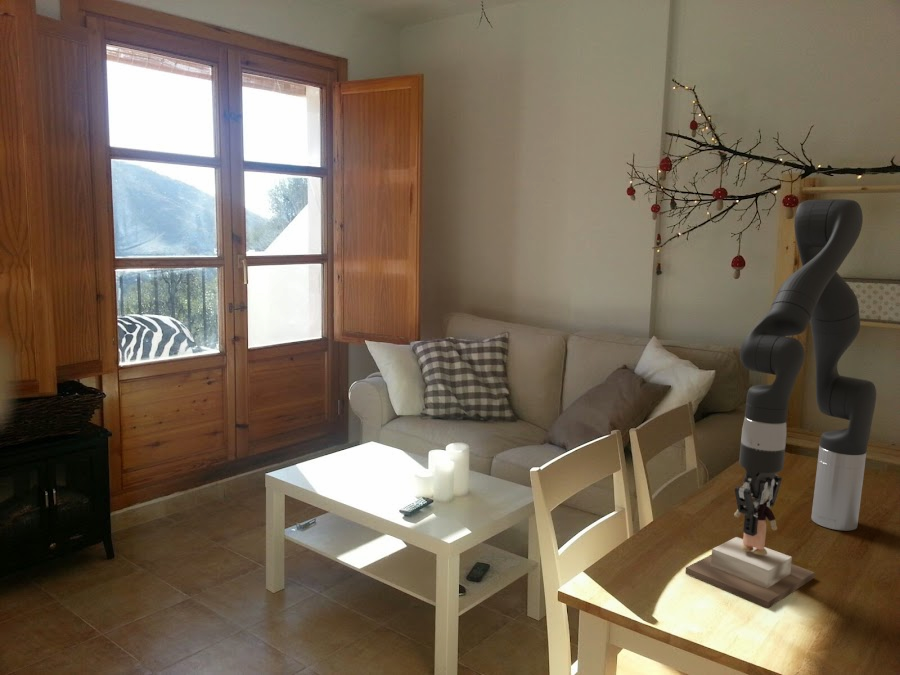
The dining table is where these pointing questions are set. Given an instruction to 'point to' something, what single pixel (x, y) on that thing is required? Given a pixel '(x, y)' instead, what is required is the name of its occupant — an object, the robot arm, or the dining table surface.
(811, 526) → the dining table surface
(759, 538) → the grandmother figurine
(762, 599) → the plinth
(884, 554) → the dining table surface
